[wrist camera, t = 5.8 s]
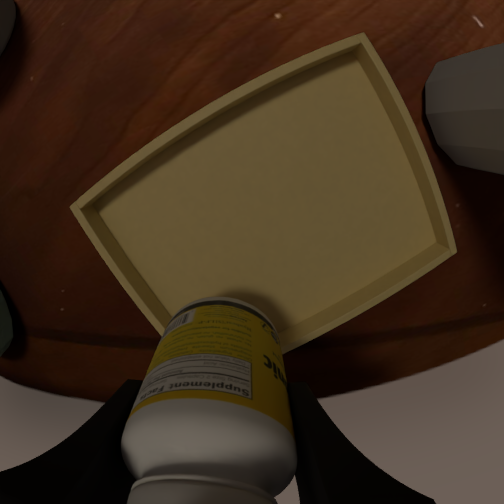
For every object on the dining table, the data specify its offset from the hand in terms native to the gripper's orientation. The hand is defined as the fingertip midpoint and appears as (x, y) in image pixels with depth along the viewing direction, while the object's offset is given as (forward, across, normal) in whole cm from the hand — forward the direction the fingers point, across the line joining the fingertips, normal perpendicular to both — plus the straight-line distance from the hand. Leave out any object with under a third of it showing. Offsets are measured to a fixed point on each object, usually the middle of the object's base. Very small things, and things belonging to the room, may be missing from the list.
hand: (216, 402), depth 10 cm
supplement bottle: (+4, 0, 0) cm, 4 cm away
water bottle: (+8, -15, -13) cm, 21 cm away
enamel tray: (+8, -3, -5) cm, 10 cm away
